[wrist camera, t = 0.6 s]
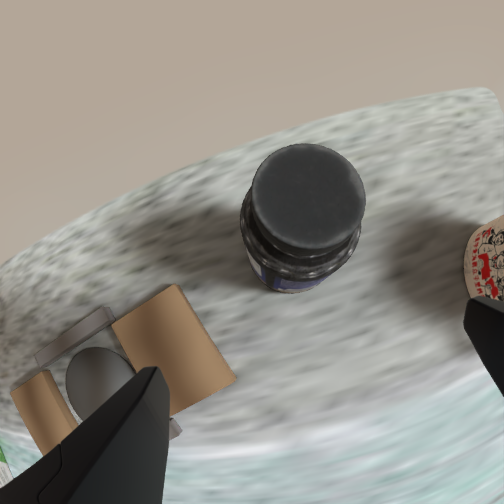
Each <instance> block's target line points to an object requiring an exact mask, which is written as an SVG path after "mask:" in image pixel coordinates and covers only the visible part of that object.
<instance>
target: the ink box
mask: <svg viewBox="0 0 504 504" xmlns="http://www.w3.org/2000/svg"><path fill="white" fill-rule="evenodd" d="M11 480H13V477H12V474H11V472H10V470H9V467H8V465H7V463H6V460H5V458H4V455H3V453H2V450H1V447H0V488H1V487H3V486H4V485H6V484H7V483H9V482H10V481H11Z"/></svg>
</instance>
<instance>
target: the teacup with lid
mask: <svg viewBox="0 0 504 504" xmlns="http://www.w3.org/2000/svg"><path fill="white" fill-rule="evenodd" d="M464 276H465V281H466V286H467V289H468V292H469V294H470V297H471V298H473V297H476V296H484V297H488V298H492V299H496V300H500V301H504V215H502V216H500V217H498V218H497V219H495V220H493V221H491V222H489V223H487V224H485V225H483V226H481V227H480V228H478V229H477V230H476V231H475V232H474V233H473V234H472V236H471V237H470V239H469V241H468V244H467V247H466V250H465V256H464Z"/></svg>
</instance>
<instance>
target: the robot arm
mask: <svg viewBox="0 0 504 504" xmlns="http://www.w3.org/2000/svg"><path fill="white" fill-rule="evenodd" d="M463 325H464V329H465V331H466V333H467V335H468V336H469V338H470V340H471V342H472V344H473V345H474V347H475V349H476V351H477V353H478V355H479V357H480V359H481V360H482V362H483V364H484V366H485V367H486V369H487V371H488V372H489V374H490V375H491V377H492V379H493V380H494V382H495V383H496V385H497V387H498V388H499V390H500V392H501V393H502V395H503V397H504V301H500V300H496V299H492V298H488V297H484V296H476V297H473V298H470V299H469V300H468V302H467V306H466V311H465V316H464V321H463ZM169 423H170V390H169V387H168V385H167V383H166V380H165V378H164V376H163V374H162V372H161V370H160V368H159V367H158V366H147V367H143V368H142V369H141V370H140V371H138V372H137V373H136V374H135V375H134V376H133V377H132V378H131V379H130V380H129V381H127V382H126V383H125V384H124V385H123V386H122V387H121V388H120V389H119V390H118V391H116V392H115V393H114V394H113V395H112V396H111V397H110V398H109V399H108V400H107V401H105V402H104V403H103V404H102V405H101V406H100V407H99V408H98V409H97V410H95V411H94V412H93V413H92V414H91V415H90V416H89V417H88V418H87V419H85V420H84V421H83V422H82V423H81V424H80V425H79V426H78V427H76V428H75V429H74V430H73V431H72V432H71V433H70V434H69V435H67V436H66V437H65V438H64V439H63V440H62V441H61V442H60V444H57V445H56V446H55V447H54V448H53V449H52V450H50V451H49V452H48V453H47V454H46V455H45V456H43V457H42V458H41V459H40V460H39V461H37V462H36V463H35V464H34V465H32V466H31V467H30V468H28V469H27V470H25V471H24V472H23V473H21V474H20V475H19V476H17V477H16V478H14V479H13V480H11V481H10V482H9V483H7V484H6V485H4V486H3V487H1V488H0V504H162V498H163V488H164V480H165V471H166V463H167V456H168V448H169Z"/></svg>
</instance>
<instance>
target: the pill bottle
mask: <svg viewBox="0 0 504 504" xmlns="http://www.w3.org/2000/svg"><path fill="white" fill-rule="evenodd" d="M365 205H366V198H365V191H364V186H363V183H362V181H361V178H360V176H359V174H358V173H357V171H356V169H355V168H354V167H353V165H351V163H350V162H349V161H348V160H346V159H345V158H344V157H343V156H342V155H340V154H339V153H337V152H335V151H334V150H332V149H329V148H326V147H324V146H319V145H316V144H294V145H290V146H287V147H284V148H281V149H279V150H277V151H275V152H274V153H272V154H271V155H269V156H268V157H267V158H266V159H265V160H264V161H263V162H262V163H261V165H260V166H259V168H258V169H257V171H256V174H255V176H254V178H253V182H252V186H251V187H250V189H249V191H248V192H247V194H246V196H245V199H244V200H243V203H242V207H241V214H240V227H241V232H242V237H243V240H244V243H245V246H246V250H247V253H248V256H249V259H250V262H251V266H252V269H253V271H254V272H255V274H256V275H257V276H258V278H259V279H260V280H261V281H262V282H264V283H265V284H266V285H267V286H268V287H270V288H272V289H274V290H276V291H279V292H283V293H292V294H293V293H300V292H303V291H307V290H310V289H312V288H313V287H315V286H317V285H318V284H319V283H320V282H322V281H323V280H324V279H325V278H327V277H328V276H329V275H331V274H332V273H333V272H335V271H336V270H338V269H339V268H340V267H341V266H342V265H343V264H344V263H346V262H347V260H348V259H349V258H350V257H351V255H352V253H353V252H354V250H355V248H356V245H357V243H358V240H359V237H360V233H361V220H362V217H363V215H364V211H365Z"/></svg>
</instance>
